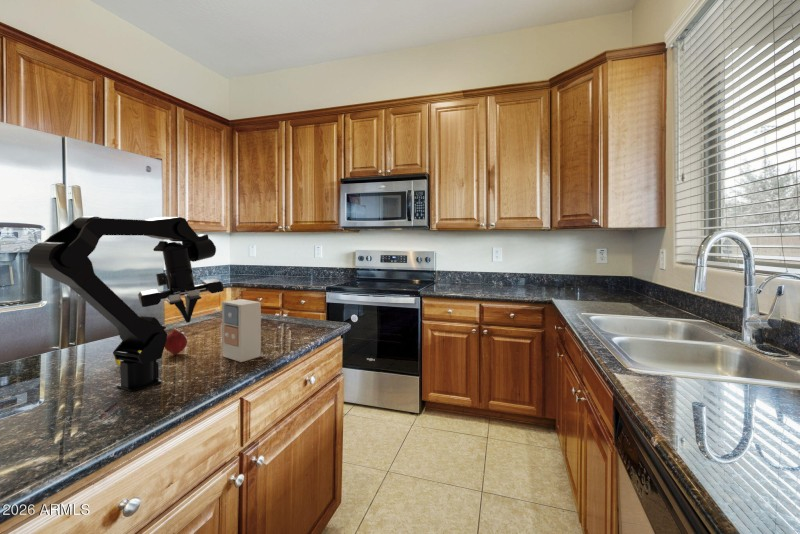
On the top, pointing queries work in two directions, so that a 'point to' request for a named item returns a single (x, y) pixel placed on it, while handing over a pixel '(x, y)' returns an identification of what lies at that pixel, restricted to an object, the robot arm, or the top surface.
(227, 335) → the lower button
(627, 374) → the top surface
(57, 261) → the robot arm
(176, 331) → the onion
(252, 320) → the box
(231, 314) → the upper drawer
